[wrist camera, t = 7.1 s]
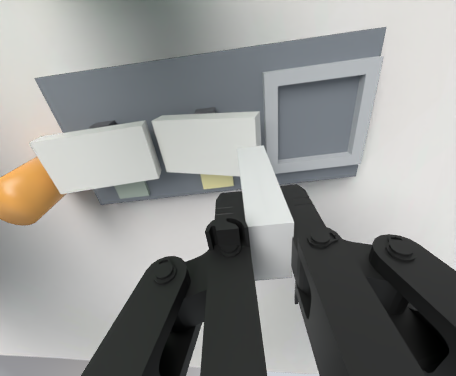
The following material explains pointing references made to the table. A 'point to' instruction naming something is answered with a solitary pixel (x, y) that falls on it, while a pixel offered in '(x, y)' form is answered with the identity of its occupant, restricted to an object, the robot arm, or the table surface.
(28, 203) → the pin
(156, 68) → the panel
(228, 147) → the breaker
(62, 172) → the block
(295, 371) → the table surface
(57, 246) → the table surface
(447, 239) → the table surface
